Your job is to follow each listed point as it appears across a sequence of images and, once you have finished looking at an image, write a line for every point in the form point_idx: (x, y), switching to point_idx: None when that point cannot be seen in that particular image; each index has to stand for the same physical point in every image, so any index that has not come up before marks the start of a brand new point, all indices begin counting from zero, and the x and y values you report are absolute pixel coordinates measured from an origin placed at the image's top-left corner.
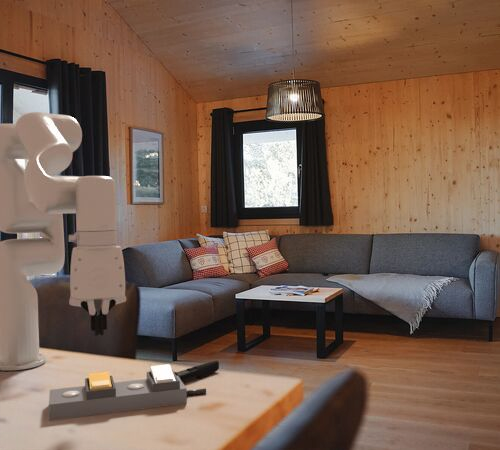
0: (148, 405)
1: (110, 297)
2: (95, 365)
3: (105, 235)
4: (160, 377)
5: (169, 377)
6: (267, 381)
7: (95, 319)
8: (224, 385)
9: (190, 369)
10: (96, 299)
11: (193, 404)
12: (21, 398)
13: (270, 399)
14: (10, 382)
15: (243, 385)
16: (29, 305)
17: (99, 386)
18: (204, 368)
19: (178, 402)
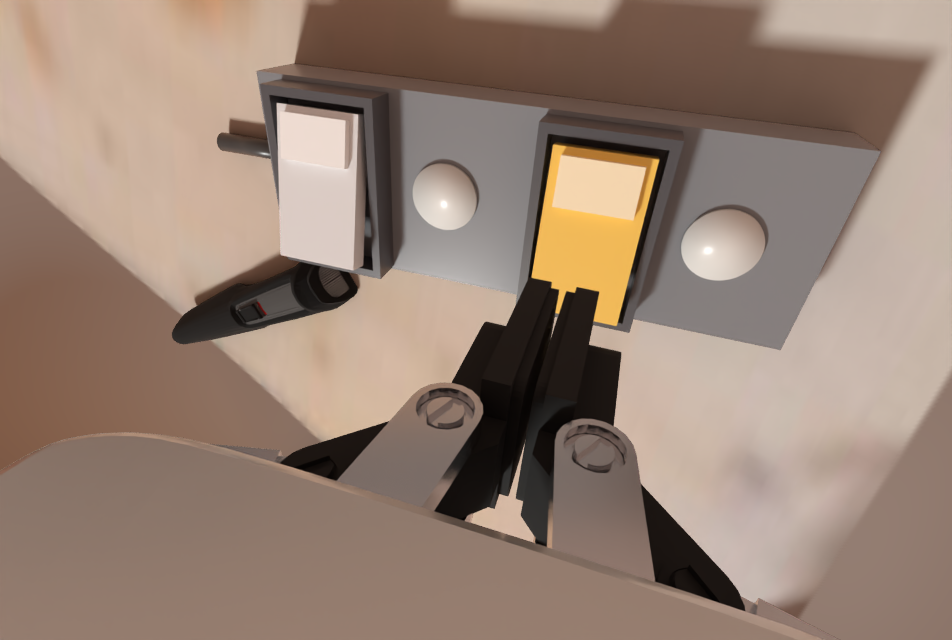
0: (428, 81)
1: (264, 465)
2: None
3: None
4: (329, 142)
5: (293, 125)
6: (51, 151)
7: (576, 368)
8: (174, 185)
9: (249, 306)
10: (514, 538)
11: (272, 38)
12: (839, 428)
13: None
14: (804, 570)
15: (117, 153)
16: None
17: (610, 161)
18: (214, 308)
19: (319, 68)
